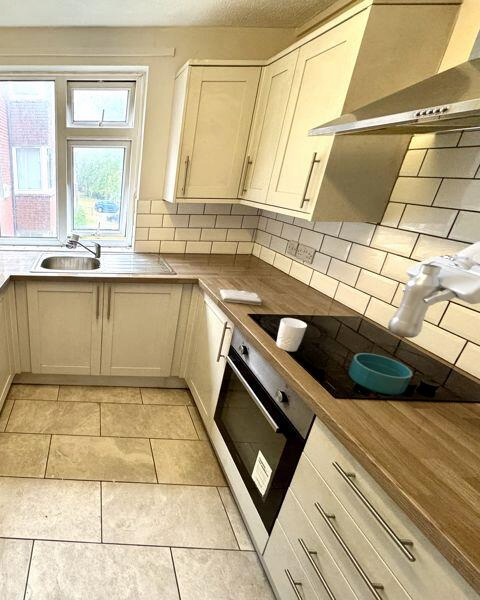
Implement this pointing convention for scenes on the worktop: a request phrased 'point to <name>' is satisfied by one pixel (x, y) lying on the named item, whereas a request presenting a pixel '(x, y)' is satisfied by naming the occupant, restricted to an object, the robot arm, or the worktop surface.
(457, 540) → the worktop surface
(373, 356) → the bowl
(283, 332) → the white cup
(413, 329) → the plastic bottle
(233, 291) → the washcloth
